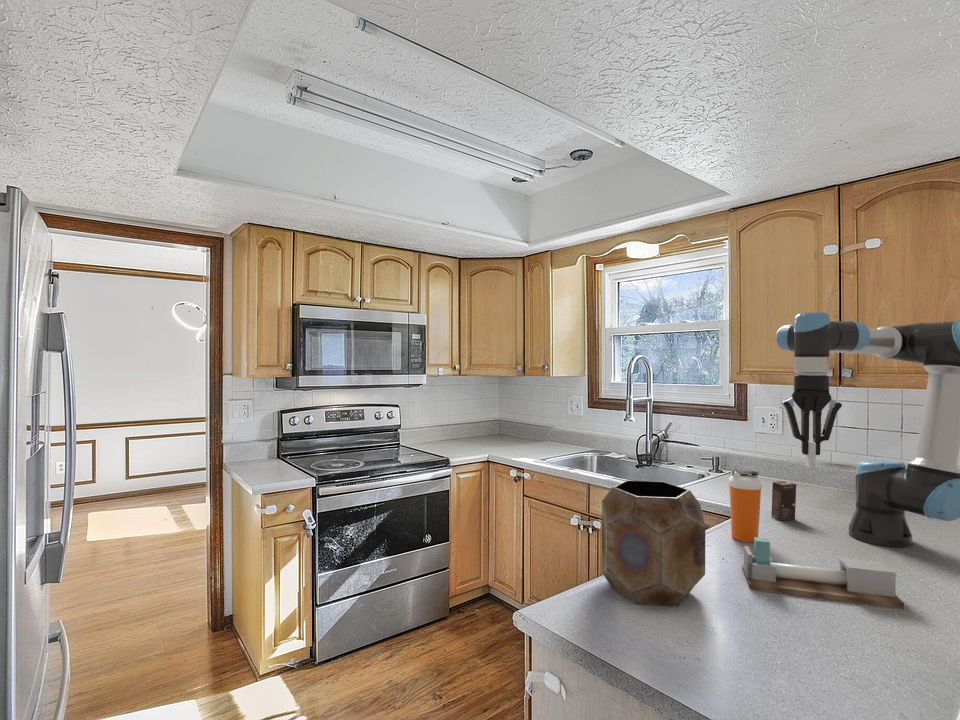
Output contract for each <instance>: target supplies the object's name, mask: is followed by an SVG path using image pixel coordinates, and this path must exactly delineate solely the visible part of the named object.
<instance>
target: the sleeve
mask: <svg viewBox="0 0 960 720" xmlns="http://www.w3.org/2000/svg"><path fill="white" fill-rule="evenodd" d="M839 570H842V571H847V591H852V592H860V593H868V594H876V595H884V596H892V597H895V595H896V586H897V585H896V584H897V583H896V582H897V581H896V579H897V574H896V571H894V570H893V569H892V568H891V567H890V565H888V564H887V563H886V562H882V561H881V562H880V561H870V560H863V559H852V558H844V557H840V558H839Z"/></svg>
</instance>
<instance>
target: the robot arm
mask: <svg viewBox="0 0 960 720" xmlns="http://www.w3.org/2000/svg"><path fill="white" fill-rule="evenodd" d="M775 337H776V339H775V340H776V343H777V346H778V347H779V348H780V349H781V350H783V351H787V352H793V353H794V355H793V356H794V358H793V359H794V361H793V363H794V365H793V372H794V373H796V374H795V375H794V376H793V392H792V394H791V397H790V398H788V399H786V400H782V401H781V404H782V406H783V407H784V409H785V410H786V413H787V417H788V420H789V425H790V429H791V432H792V433H791V434H792V436H793V438H795V439H797V440H799V441H801V453H802V454H803V455H804V456H805V467H806V468H808V469H809V470H812V469H813V470H816V466H817V464H816V463H817V462H816V461H817V460H816V456H821V444H822V442H826V441H829V440H830V437H831V434H832V431H833V428H834V424H835V420H836V417H837V413H838V412H839V410H840V409H841V408H842V407H843V404H842V403H841V402H837V401H836V400H835V399H833V398H832V394H830V376H829V375H827V374H828V373H830V353H838V354H839V353H841V354H857V355H859V354H860V355H874V356H875V357H877V358H880V359H887V360H888V359H889V360H896V361H902V362H907V363H908V362H909V363H916V364H923V365H922V368H923V369H924V370H925V371H926V372H927V373H928V379H927V385H926V389H925V390H926V391H925V398H924V402H923V403H924V404H923V410H922V415H921V422H920V428H919V434H918V441H917V446H916V454H915V458H914V459H912V460H909V461H908V462H907V464H906V463H905V462H904V461H898V460H881V459H880V460H878V459H877V460H874V459H873V460H862V461H860V462H858V463H857V464H856V468H855V469H856V470H855V471H856V472H855V509H854V512H853V515H852V517H851V520H850V522H849V524H848V534H849V536H851V537H852V538H854V539H856V540H858V541H862V542H865V543H868V544H873V545H877V546H885V547H893V548H905V547H906V548H907V547H910V546H912V545H913V535H912V532H911V529H910V526H909V524H908V521H907V519H906V515H905V512H909V513H912V514H916V515H920V516H923V517H927V518H928V519H933V520H939V521H944V522H953V521H956V520H958V519H960V468H959V467H958V460H959V455H960V320H956V321H942V322H941V321H939V322H920V323H910V324H903V325H894V326H893V325H892V326H890V325H885V326H884V325H883V326H880V327H877V328H869V327H868V326H867V325H865V323H863V322H860V321H854V320H850V321H846V320H845V321H843V320H842V321H841V320H840V321H839V320H838V321H833V320H831V319H830V314H829V313H828V312H816V311H815V312H814V311H813V312H802V313H798V314H797V315H796V316H795V317H794V323H791V324H785V325H782V326H781V327H780V328H779V329H778V330H777V331H776V336H775ZM794 403H795V404H796V406H798V408H799V410H800V418H801V420H800V425H801V426H800V428H799V425H798V420H797V417H796V414H795V410H794V406H795V404H794ZM827 405H828V408H829V409H828V411H827V414H826V417H825V420H824V425H823V428H822V415H823V414H822V410H824V409H825V407H826V406H827ZM811 412H812V440H810V413H811Z"/></svg>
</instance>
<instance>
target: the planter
mask: <svg viewBox="0 0 960 720" xmlns="http://www.w3.org/2000/svg"><path fill="white" fill-rule="evenodd" d="M601 573H602V575H603V577H604V578H605V579H606V581H607V583H608V584H609V585H610V587H611V588H612V589H614V590H615V591H616V592H618V593H619V594H621V595H622V596H624V597H625V598H626V599H628V600H629V601H631V602H632V603H634V604H635V605H645V606H647V605H649V606H663V607H679V605H681V603H682V602H683V601H684V600H685V598H686V597H687V596H688V595H689V594H690V592H691V591H692V590H693V589H694V587H695V586H696V585H697V584H698V583H699V582H700V581H701V580H702V579H703V578H704V576H705V575H706V525H705V519H704V515H703V511H702V506H701V503H700V502H699V501H698V499H697V497H695V495H694V493H693V492H692V490H690V489H687V488H685V487H682V486H678V485H675V484H672V483H669V482H667V481H666V482H665V481H658V480H655V481H653V480H625V481H623V482H620V483H619V484H617V485H614V486H613V487H611V489H610V490H609V491H608V493H607V494H606V495H605V496H604V497H603V499H602V500H601Z"/></svg>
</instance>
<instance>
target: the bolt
mask: <svg viewBox="0 0 960 720" xmlns="http://www.w3.org/2000/svg"><path fill="white" fill-rule="evenodd" d="M770 551H771V541H770V540H769V538H768V537H767V538H766V537H759V536H758V537H754V542H753V556H754V563H757V564H766V565H774V566H776V577H779V578H788V579H796V580H804V581H812V582H821V583H829V584H837V585H845V586H847V571H842V570H840V569H831V568H823V567H814V566H808V565H807V566H804V565H795V564H789V563H779V562H778V563H777V562H772V563H771V562H770V558H771V552H770Z"/></svg>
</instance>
